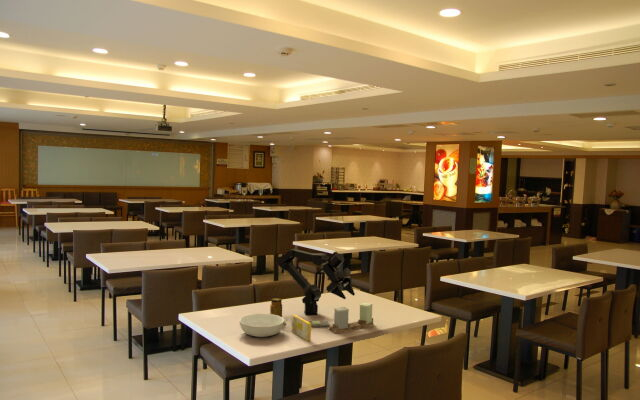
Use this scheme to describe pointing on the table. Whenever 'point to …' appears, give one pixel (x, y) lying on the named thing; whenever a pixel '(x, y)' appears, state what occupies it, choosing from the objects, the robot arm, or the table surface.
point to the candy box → (301, 327)
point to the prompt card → (319, 324)
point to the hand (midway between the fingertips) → (349, 296)
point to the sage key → (366, 312)
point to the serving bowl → (261, 324)
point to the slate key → (341, 317)
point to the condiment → (276, 307)
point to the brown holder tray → (351, 326)
